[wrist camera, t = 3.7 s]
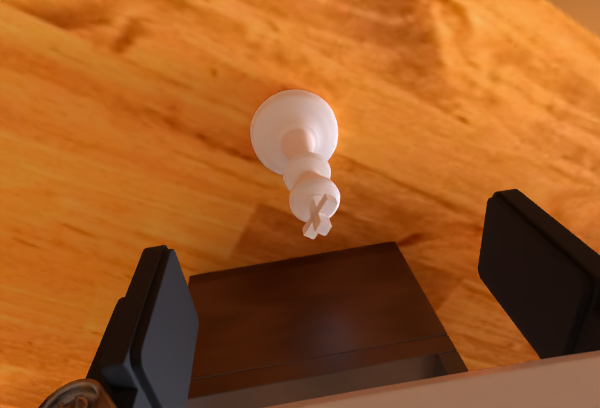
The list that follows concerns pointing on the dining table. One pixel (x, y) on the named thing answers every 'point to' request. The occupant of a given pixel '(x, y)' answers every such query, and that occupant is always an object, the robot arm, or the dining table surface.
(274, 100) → the chess piece
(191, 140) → the dining table surface
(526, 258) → the robot arm
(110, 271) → the dining table surface
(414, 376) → the open box
